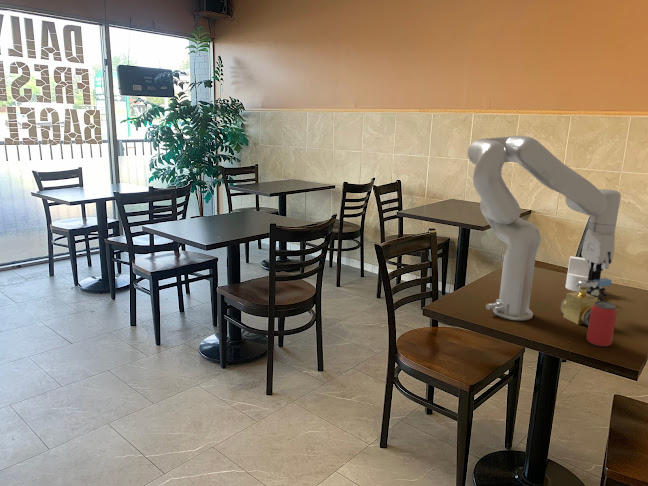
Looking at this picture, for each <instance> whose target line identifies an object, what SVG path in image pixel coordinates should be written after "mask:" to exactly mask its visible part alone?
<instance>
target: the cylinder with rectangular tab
mask: <svg viewBox="0 0 648 486" xmlns="http://www.w3.org/2000/svg"><path fill="white" fill-rule="evenodd" d="M588 266H589V264H588V262H587V261H586V260H585V259H584V258H583V257H579V256H573V255H571V256H569V261H568V269H567V273H566V280H565V288H566V289H567V290H569V291H572V292H579V290H580V287H578V286H577V285H578V281H579V280H586V281H588V275H589V270H590V269H589V268H588ZM587 290H588V291H589V288H587Z"/></svg>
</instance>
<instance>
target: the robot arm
mask: <svg viewBox="0 0 648 486" xmlns="http://www.w3.org/2000/svg"><path fill="white" fill-rule="evenodd" d="M467 157H468V160H469V161H470V162H471V163H472V164H473V165H475V166H474V169H473V178H472V180H473V181H472V182H473V187H474V189H475V191H476V192H477V194H478V196H479V197H480V204H479V209H480V212H481V214H482V216H483V217H484V219H485V221H486V223H487V224H488V225H489V227H490V228H491V229H492V231H493V232H494V234H495V235H496V237H498V239H499V240H500V241H502V242H503V243H505V244H507V248H506V252H505V253H504V257H503V260H502V261H503V263H502V269H501V270H502V272H501V281H500V287H499V298H497V299H496V300H495V302H493V303H486V305H485V309H487V310H492V312H493V313H494V314H495V315H496V316H497V317H500V318H502V319H507V320H511V321H528V320H530V319H532V318H533V316H534V312H533V311H532V310H531V309H530V308H529V307H530V302H531V301H530V300H531V294H532V288H533V287H532V286H533V277H534V271H535V270H534V269H535V262H536V258H537V254H538V250H539V247H540V244H541V239H542V238H541V232H540V230H539V228H538V227H537V226H536V225H534V224H533V223H531V222H530V221H527V220H525V219H523V218H520V217H521V207H520V203H519V202H518V200H517V199H516V198H515V196H514V195H513V193H512V192H511V191H510V189H509V188H508V186H507V184H506V182H505V181H504V179H503V176H502V170H503V167H504V164H505V163H516V164H518V165H519V166H521V167H522V168H523V169H525V171H527V173H529V174H530V175H531V176H532V177H534V178H535V179H536V180H537V181H538V182H539V183H540V184H542V185H543V186H545V187H547V188H548V189H550V190H552V191H555V192H557V193H558V194H561V195H563V196H564V197H565V199H564V200H565V204H566V205H567V207H568V208H569V209H570V210H572V211H575V212H578V213H581V214H584V215H586V216H588V217H589V216H590V217H589V218H590V220H589V226H588V229H587V231H586V232H585V233H586V234H585V236H584V239H583V244H582V249H581V258H584V259H585V260H586V261H587V262H588V264H589V266H588V268H589V269H590V270H589V275H588V281H590V280H594V279H600V277H601V275H602V272H603V270H604V269H605V270H606V269H607V270H609V267H610V265H611V264H612V263H613V259H614V255H615V254H614V253H615V243H616V242H615V241H616V240H615V239H616V238H615V234H616V228H617V222H618V216H619V215H618V214H619V209H620V203H621V197H622V194H621V193H620V192H619V191H617V190H615V189H608V188H607V189H599V188H598V187H596V186H595V185H594V184H593V183H592V182H591V181H589V179H586V178H585V177H584V176H582V175H581V174H579V173H577V172H576V171H574V169H572V168H571V167H569V166H568V165H566V164H564V163H563V161H561V160H560V159H559V158H557V156H555V155H554V154H553V153H552V152H550V150H549V149H548V148H546V147H545V146H544V145H543V144H542V143H541V142H540V141H538V140H537V139H535V138H534V137H531V136H526V135H525V136H524V135H510V136H501V137H489V138H487V137H486V138H479V139H476V140H474V141H473V142H471V143H470V145H469V146H468V148H467Z"/></svg>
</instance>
